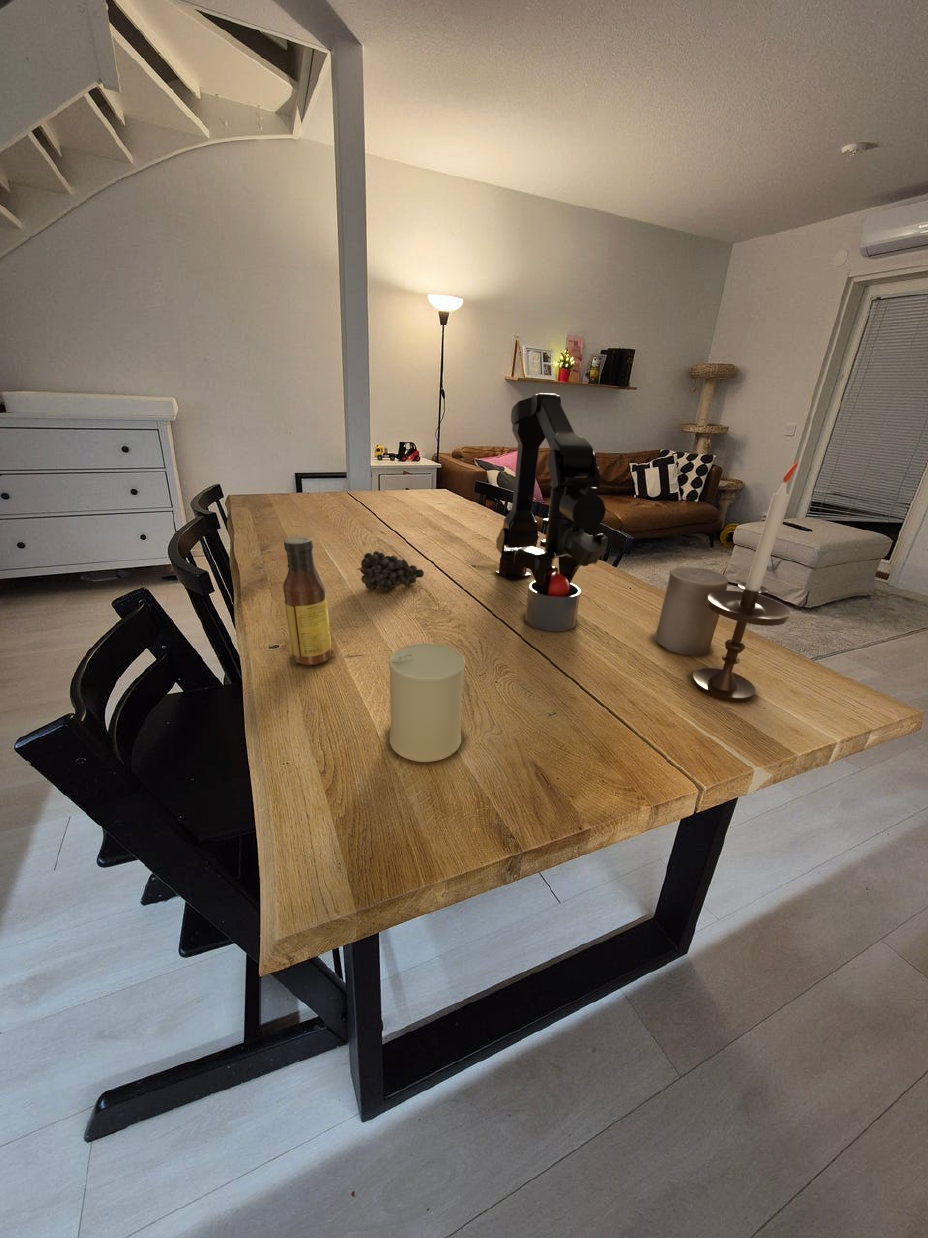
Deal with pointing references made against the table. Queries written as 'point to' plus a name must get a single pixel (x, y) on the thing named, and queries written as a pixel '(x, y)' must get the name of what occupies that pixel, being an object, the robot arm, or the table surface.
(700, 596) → the pillar candle
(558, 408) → the robot arm
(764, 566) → the candlestick
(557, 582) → the apple
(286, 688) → the table surface
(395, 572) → the fruit
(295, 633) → the sauce bottle
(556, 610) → the cup
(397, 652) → the can
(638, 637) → the table surface
